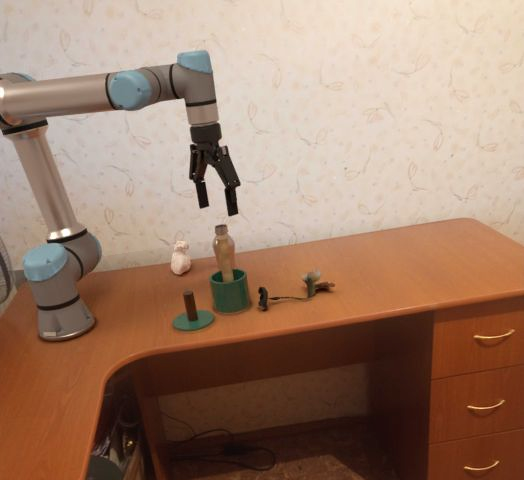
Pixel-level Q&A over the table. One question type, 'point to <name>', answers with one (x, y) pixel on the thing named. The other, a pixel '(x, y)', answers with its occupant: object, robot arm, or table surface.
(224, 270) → the stick
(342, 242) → the table surface
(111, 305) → the table surface
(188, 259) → the bust
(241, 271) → the pot
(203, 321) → the lid
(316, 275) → the artificial flower
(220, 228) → the plastic bottle
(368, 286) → the table surface
